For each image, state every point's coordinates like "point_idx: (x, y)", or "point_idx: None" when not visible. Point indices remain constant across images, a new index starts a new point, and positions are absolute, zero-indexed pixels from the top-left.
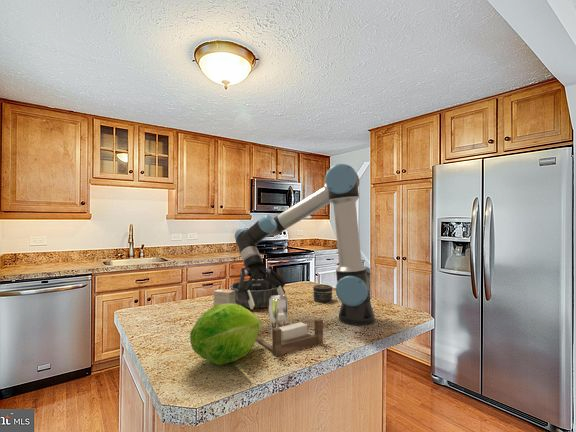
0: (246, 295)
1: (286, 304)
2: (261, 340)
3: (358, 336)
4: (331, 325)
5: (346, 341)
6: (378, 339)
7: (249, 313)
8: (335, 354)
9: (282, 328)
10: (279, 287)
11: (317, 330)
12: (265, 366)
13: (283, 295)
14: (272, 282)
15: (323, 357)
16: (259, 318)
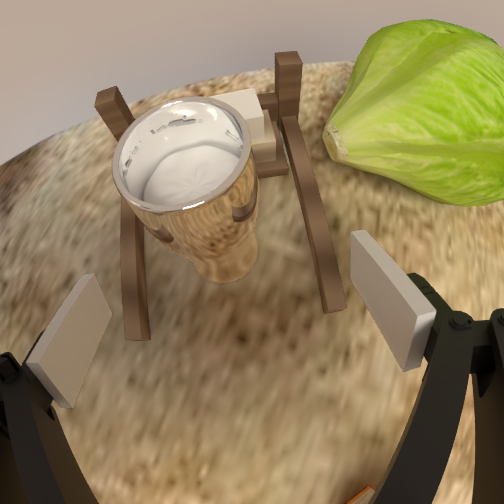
0: (428, 289)
1: (155, 136)
2: (311, 195)
3: (23, 183)
4: (14, 289)
5: (62, 161)
6: (14, 157)
7: (399, 34)
8: (137, 104)
9: (245, 105)
10: (47, 358)
11: (127, 110)
12: (327, 99)
13: (76, 296)
14: (63, 455)
15: (171, 97)
16: (340, 119)
